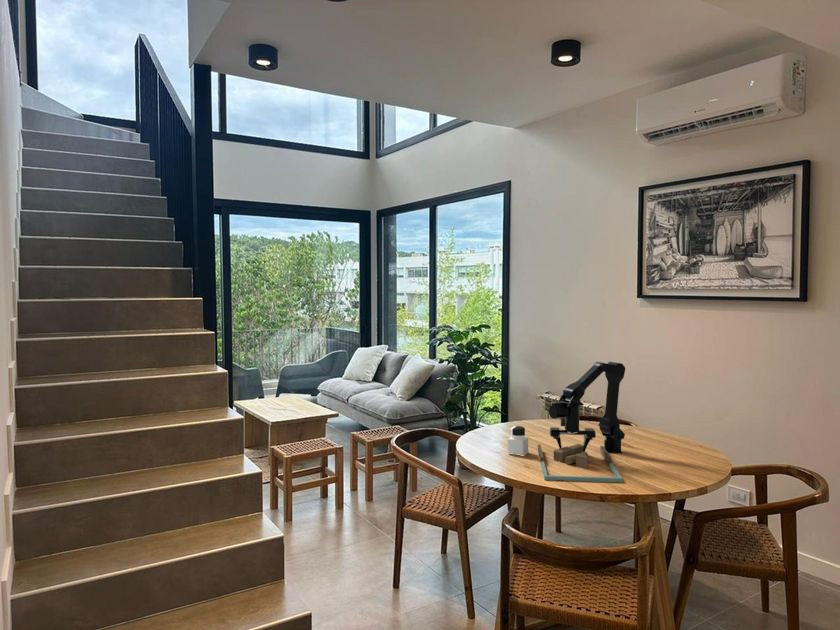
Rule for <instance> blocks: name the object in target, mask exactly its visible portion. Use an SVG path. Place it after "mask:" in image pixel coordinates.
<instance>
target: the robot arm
mask: <svg viewBox="0 0 840 630" xmlns="http://www.w3.org/2000/svg"><path fill="white" fill-rule="evenodd" d="M625 372H626V367H625V365H624V364H623V363H622V362H615V361H608V362H606V363H605V362H600V361H596V362H594V363H593V365H592V366H591V367H590V368H589V369H588V370H587V371H586V372H585V373H584V374H583V375H582V376H581V377H580V378H579V379H578V380H577V381H575V382H572V383H570V384H569V385H567V386H566V387H564V388H563V390H562V393H561V395H560V397H559V398H558V401H557V402H556V401H554V402H553V401H552V402H551V405H550V406H549V408H548V414H549V417H550V418H551V419H553V420H554V419H560V427H564V429H560V427H553V426H552V427H550V428H549V436H550V437H552V438H553V439H554V440H556V442H557V445H558V449H559V448H563V446H562V441H561V440H562V438H561V435H573V436H575V435H576V436H583V444H582V445H583V452H586V450H587V447H588V444H589V443H590V441H592V440H594V439H595V438H596V437H597V436H596V435H597V434H596V431H595V429H594V428H592V427H590V428H587V427H585V428H584V430H583V429H582V430H580V407H581V406H584V403H583V402H582V401H581V399H582V398H583V396H585V394H586V390H587V388H588V387H590V385H592V384H593V382H594V381H595V380H597V378H599V377H600V376H601V375H602V374H603V373H604V375H605V377H606V381H607V390H606V399H605V411H604V414H603V416H602V417H601V416H600V417H599V419H598V420H599V423H598V427H599V430H600V432H601V435H602V436H603V437H604V440H603V446H604V448H605V449H606V451H607V452H608V454H610V453H611V454H612V453H614V454H615V453H616V454H617V453H619V454H622V453H623V451H622V440H624V439H625V435H626V434H625V433H624V431H623V430H622V429H621V427H620V426H621V425H620V420H619V417H618V403H619V395H620V393H619V392H620V385H621V382H623V381H622V380H623V379H624V377H625Z"/></svg>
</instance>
